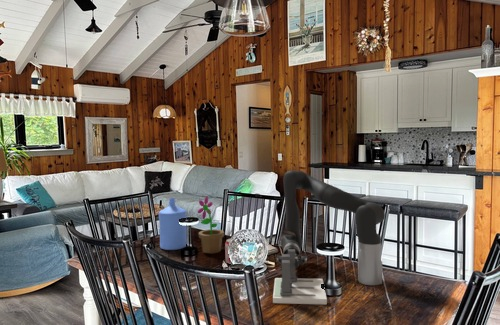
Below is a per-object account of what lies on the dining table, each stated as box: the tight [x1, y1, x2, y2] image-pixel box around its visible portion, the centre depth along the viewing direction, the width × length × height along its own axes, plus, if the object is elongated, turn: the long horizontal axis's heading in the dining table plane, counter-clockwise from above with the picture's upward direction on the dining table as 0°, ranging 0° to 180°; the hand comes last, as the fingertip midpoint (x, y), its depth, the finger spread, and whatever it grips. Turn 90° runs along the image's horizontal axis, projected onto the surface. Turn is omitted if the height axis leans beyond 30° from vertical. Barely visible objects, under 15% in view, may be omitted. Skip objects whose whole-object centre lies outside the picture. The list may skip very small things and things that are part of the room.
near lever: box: [280, 260, 292, 296], centre depth 143 cm, size 4×4×12 cm
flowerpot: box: [197, 196, 225, 254], centre depth 208 cm, size 14×14×30 cm
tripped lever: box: [288, 249, 298, 281], centre depth 157 cm, size 4×4×12 cm
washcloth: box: [267, 244, 279, 256], centre depth 207 cm, size 12×18×3 cm, turn 42°
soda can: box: [224, 238, 231, 264], centre depth 186 cm, size 7×7×12 cm
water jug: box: [158, 198, 188, 251], centre depth 218 cm, size 16×16×28 cm
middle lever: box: [281, 253, 292, 288], centre depth 150 cm, size 4×4×12 cm
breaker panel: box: [272, 277, 328, 305], centre depth 150 cm, size 20×20×2 cm
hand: (291, 265), depth 154 cm, fingers closed on tripped lever, 3 cm apart
